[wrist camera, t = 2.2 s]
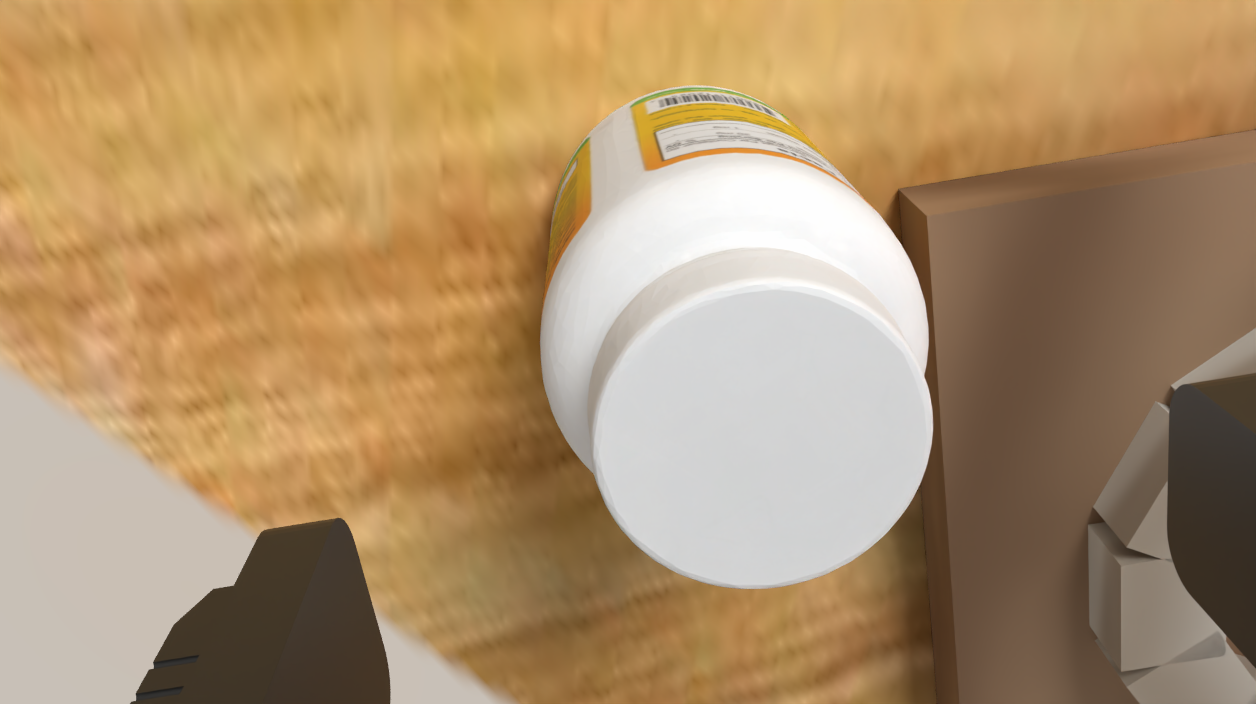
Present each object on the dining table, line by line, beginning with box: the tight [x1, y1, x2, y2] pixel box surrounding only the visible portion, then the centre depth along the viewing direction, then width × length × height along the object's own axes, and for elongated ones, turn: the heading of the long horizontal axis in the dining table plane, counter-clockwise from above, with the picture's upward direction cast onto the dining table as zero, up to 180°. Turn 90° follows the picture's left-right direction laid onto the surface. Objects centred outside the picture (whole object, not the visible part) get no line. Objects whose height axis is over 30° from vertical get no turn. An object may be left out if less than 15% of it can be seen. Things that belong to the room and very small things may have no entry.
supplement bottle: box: [540, 85, 933, 589], centre depth 18 cm, size 5×5×10 cm
